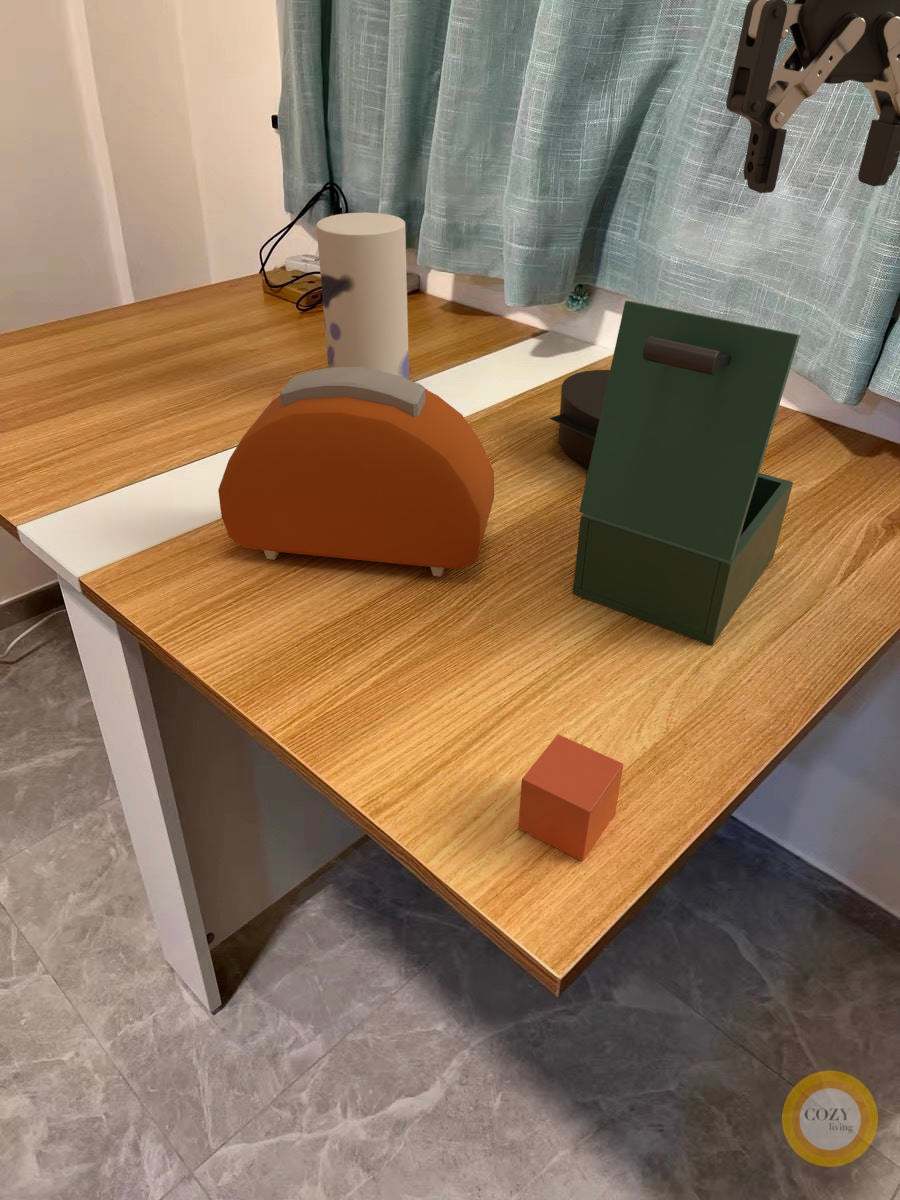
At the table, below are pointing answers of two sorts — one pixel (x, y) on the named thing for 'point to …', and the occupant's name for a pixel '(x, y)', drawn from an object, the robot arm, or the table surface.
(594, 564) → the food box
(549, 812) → the block
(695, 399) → the lid
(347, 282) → the container
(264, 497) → the orange toaster
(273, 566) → the table surface
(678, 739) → the table surface
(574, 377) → the waffle maker
